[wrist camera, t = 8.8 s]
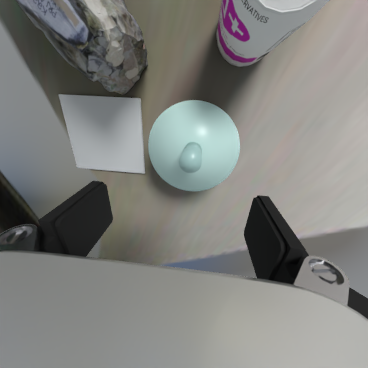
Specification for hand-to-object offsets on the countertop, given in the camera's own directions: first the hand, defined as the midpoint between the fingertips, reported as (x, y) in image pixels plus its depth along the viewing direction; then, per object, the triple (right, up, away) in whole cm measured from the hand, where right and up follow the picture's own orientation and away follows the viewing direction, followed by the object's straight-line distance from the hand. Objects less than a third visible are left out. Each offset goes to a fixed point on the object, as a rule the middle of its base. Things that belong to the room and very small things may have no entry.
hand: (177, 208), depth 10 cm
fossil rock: (-12, +27, +14) cm, 33 cm away
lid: (+2, +7, +15) cm, 17 cm away
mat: (-15, +11, +22) cm, 28 cm away
